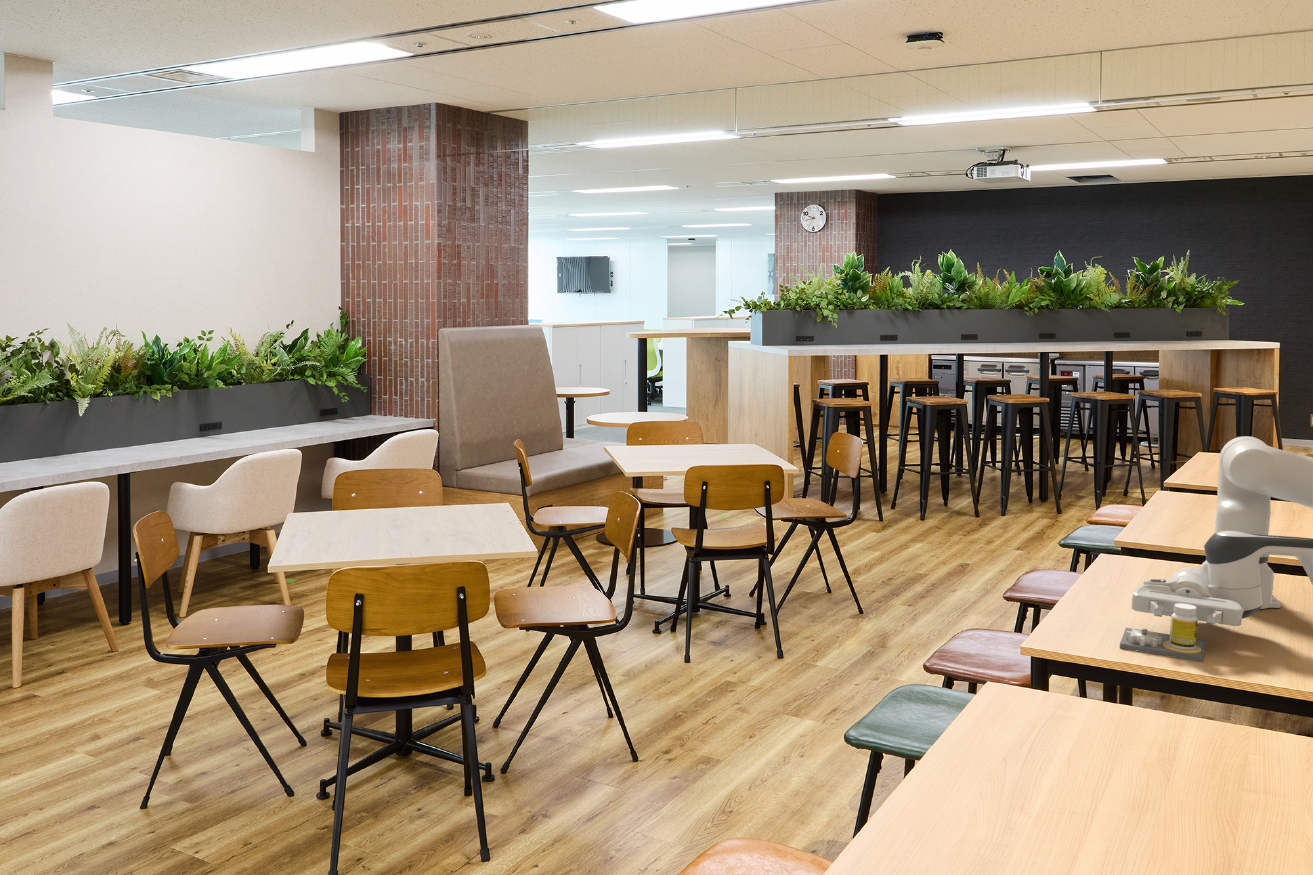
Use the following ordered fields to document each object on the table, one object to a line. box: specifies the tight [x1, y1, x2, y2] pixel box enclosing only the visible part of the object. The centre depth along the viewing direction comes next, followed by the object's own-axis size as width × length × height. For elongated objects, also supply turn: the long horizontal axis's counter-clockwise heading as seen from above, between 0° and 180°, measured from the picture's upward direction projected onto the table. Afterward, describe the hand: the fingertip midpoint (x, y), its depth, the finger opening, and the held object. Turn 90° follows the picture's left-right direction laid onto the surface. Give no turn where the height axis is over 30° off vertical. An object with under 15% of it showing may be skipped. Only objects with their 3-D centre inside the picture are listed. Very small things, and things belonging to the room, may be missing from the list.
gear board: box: [1119, 627, 1206, 663], centre depth 209 cm, size 12×15×4 cm
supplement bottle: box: [1169, 603, 1199, 650], centre depth 205 cm, size 5×5×8 cm
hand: (1184, 616), depth 204 cm, fingers open, 8 cm apart
